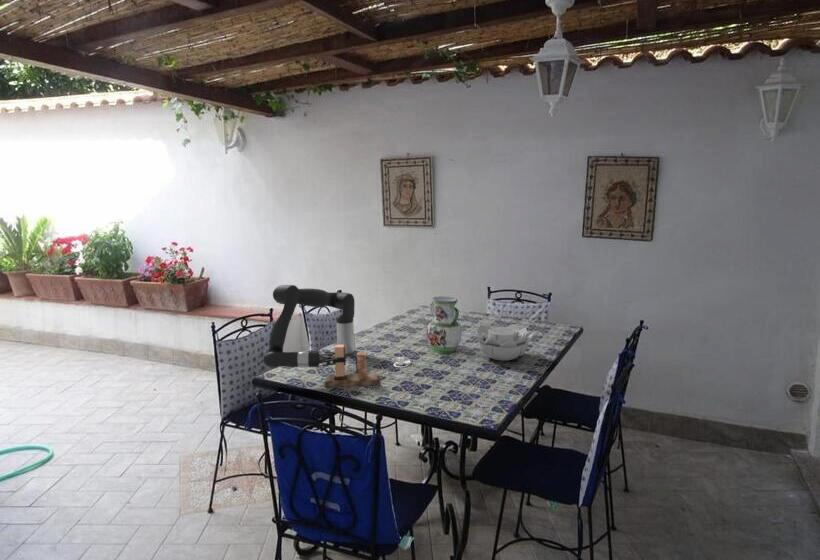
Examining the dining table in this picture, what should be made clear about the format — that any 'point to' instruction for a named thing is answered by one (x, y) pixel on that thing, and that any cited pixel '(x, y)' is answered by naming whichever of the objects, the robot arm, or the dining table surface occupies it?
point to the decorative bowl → (502, 341)
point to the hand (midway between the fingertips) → (345, 358)
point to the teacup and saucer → (402, 362)
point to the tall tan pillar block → (341, 365)
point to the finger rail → (353, 375)
